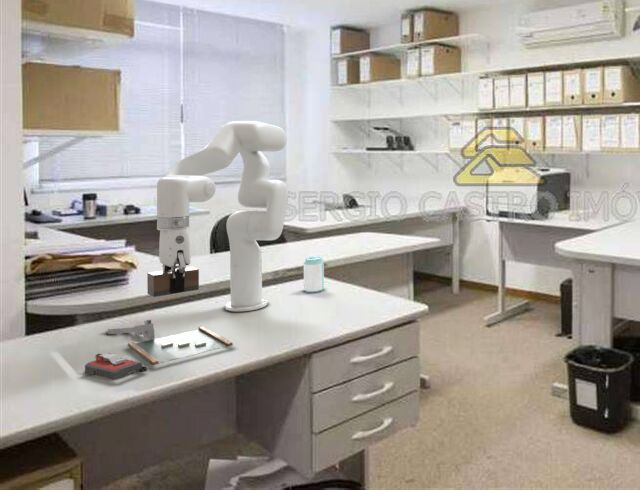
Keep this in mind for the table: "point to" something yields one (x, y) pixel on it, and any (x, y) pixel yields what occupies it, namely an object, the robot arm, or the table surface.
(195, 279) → the eraser
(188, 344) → the chalk mark
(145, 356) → the chalkboard
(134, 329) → the caliper
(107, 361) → the toy chainsaw
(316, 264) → the can
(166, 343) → the chalk mark
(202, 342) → the chalk mark
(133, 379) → the table surface
